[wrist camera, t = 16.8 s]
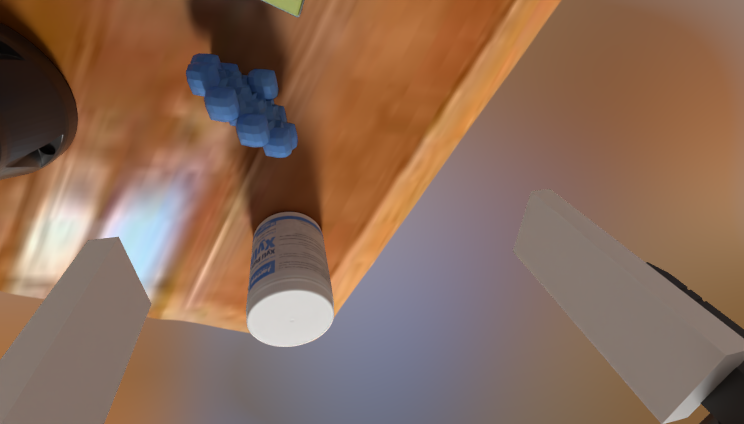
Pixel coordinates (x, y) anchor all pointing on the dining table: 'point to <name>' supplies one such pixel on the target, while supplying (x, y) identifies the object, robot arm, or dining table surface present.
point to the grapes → (243, 103)
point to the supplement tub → (289, 282)
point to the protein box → (288, 6)
